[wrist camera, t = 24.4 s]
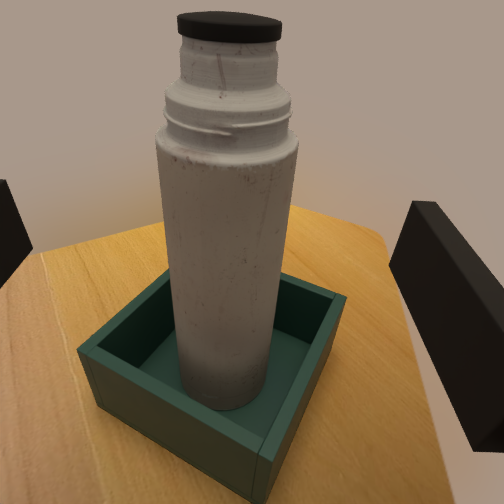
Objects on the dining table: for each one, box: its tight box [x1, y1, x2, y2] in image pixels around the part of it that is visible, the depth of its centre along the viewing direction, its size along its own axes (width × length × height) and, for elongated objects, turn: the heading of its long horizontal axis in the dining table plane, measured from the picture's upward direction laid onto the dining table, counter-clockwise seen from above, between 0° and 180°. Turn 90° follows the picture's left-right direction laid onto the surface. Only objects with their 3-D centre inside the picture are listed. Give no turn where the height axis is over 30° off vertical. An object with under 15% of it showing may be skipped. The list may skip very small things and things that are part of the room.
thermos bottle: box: [156, 11, 299, 411], centre depth 25 cm, size 8×8×28 cm
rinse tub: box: [77, 269, 347, 504], centre depth 32 cm, size 16×16×8 cm
